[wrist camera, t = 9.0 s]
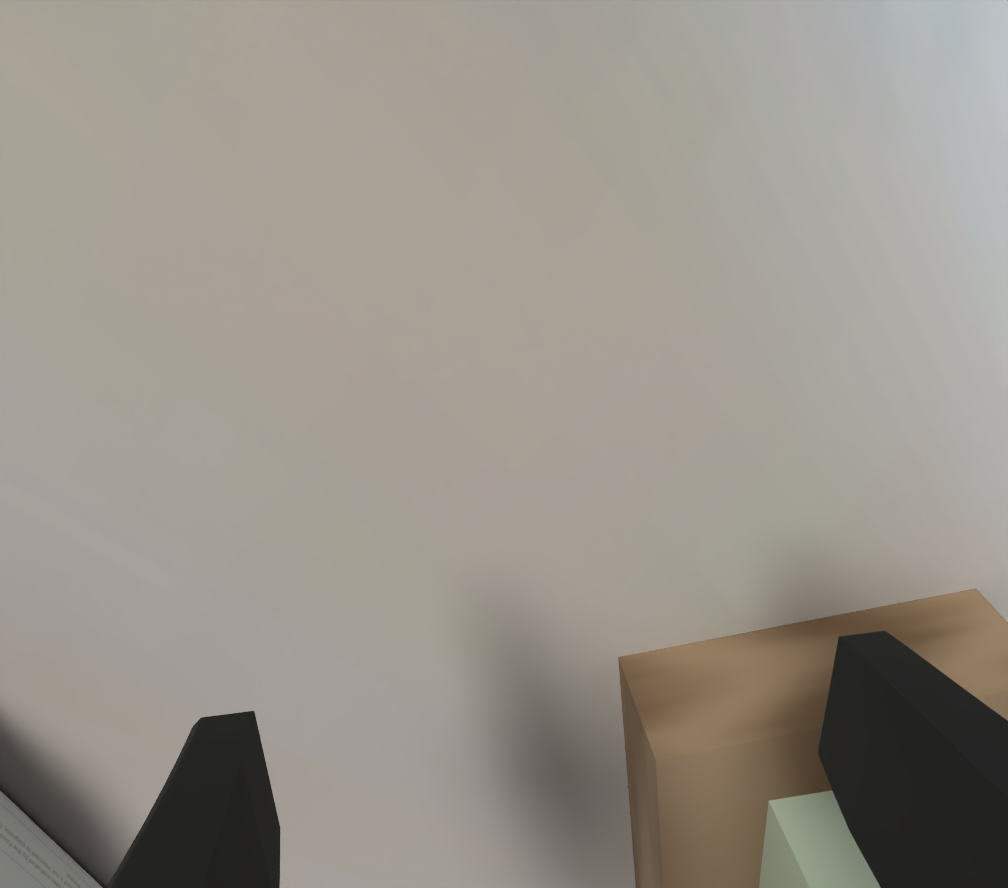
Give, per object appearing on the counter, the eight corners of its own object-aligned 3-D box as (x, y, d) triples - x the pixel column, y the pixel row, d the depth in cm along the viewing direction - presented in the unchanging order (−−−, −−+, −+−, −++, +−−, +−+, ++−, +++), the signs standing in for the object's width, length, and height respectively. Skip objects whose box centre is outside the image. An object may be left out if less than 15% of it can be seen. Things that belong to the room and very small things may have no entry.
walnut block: (967, 579, 27) (1059, 679, 23) (929, 818, 32) (1001, 931, 28) (614, 646, 26) (655, 760, 22) (633, 880, 31) (669, 1003, 28)
